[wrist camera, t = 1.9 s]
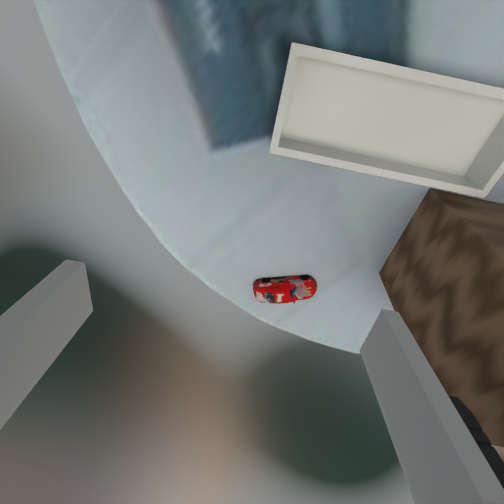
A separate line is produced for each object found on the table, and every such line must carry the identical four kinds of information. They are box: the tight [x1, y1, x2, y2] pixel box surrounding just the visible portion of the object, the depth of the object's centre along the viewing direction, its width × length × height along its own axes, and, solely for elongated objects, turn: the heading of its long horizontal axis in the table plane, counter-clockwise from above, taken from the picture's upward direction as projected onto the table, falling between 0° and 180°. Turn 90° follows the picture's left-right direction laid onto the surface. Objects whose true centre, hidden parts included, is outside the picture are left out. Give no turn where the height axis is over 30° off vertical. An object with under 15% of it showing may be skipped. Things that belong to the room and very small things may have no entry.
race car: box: [253, 275, 317, 303], centre depth 57 cm, size 13×5×4 cm, turn 99°
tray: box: [269, 42, 504, 198], centre depth 36 cm, size 12×30×6 cm, turn 80°
